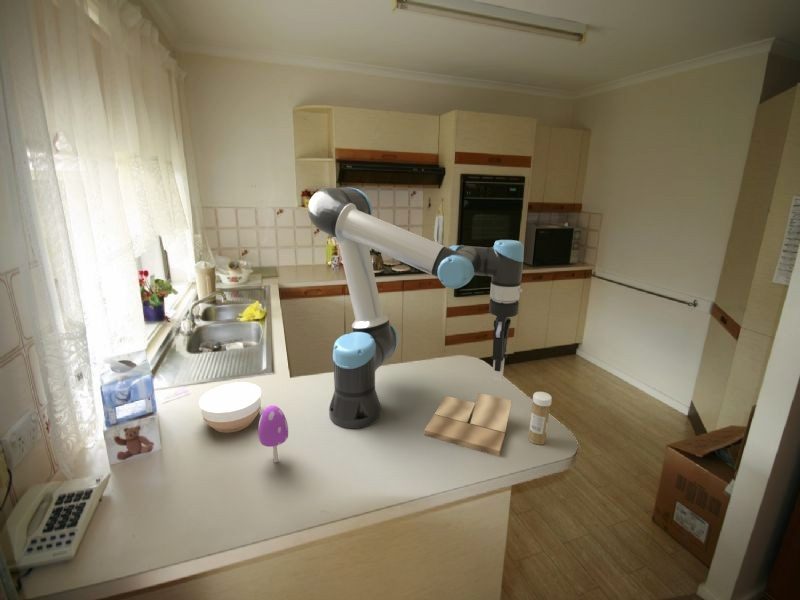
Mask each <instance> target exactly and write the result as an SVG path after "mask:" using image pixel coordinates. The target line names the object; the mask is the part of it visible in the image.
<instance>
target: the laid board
mask: <svg viewBox="0 0 800 600" xmlns="http://www.w3.org/2000/svg"><path fill="white" fill-rule="evenodd" d="M423 435H424V436H426V437H430V438H433V439H437V440H440V441H444V442H448V443H450V444H454V445H459V446H460V447H461V446H462V447H466V448H468V449H472V450H476V451H479V452H481V453H482V452H483V453H486V454H490V455H494V456H497V457H500V454H501V451H502V447H503V443H504V440H505V437H506V432H505V433H503V432H499V431H495V430H491V429H487V428H483V427H480V426H476V425H472V424H470V423H469V422H468V423H464V422H460V421H456V420H453V419H449V418H445V417H441V416H437V415H434V414H433V416H432V417H431V419H430V421H429V422H428V424H427V425H426V427H425V428H424V432H423Z"/></svg>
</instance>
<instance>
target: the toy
mask: <svg viewBox="0 0 800 600" xmlns="http://www.w3.org/2000/svg"><path fill="white" fill-rule="evenodd" d="M257 433H258V441H259V442H260V444H261V445H262V446H264V447H269V448H270V447H271V448H272V455H273V462H274V463H276V464H277V463H278V462H279V454H278V446H279V445H280V446H281V445H282V444H283V443H285V442H286V441H287V439H288V438H289V425H288V421H287V418H286V416H285V413H284V412H283V410H282V409H281V408H280V407H278V406H277V405H273V404H272V405H269V406H267V407H265V409H264V410H263V411H262V413H261V415H260V417H259V422H258V432H257Z"/></svg>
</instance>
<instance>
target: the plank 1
mask: <svg viewBox="0 0 800 600" xmlns="http://www.w3.org/2000/svg"><path fill="white" fill-rule="evenodd" d="M475 405H476V402H473V401H468V400H464V399H460V398H455V397H451V396H447V395H444V397H443V398H442V401H441V402H440V404H439V406H438V407H437V409H436V411H435V413H434V414H433V416H434V415H437V416H441V417H445V418H449V419H453V420H456V421H460V422H464V423H468V424H469V421H470V420H471V418H472V415H473V412H474V408H475Z"/></svg>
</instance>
